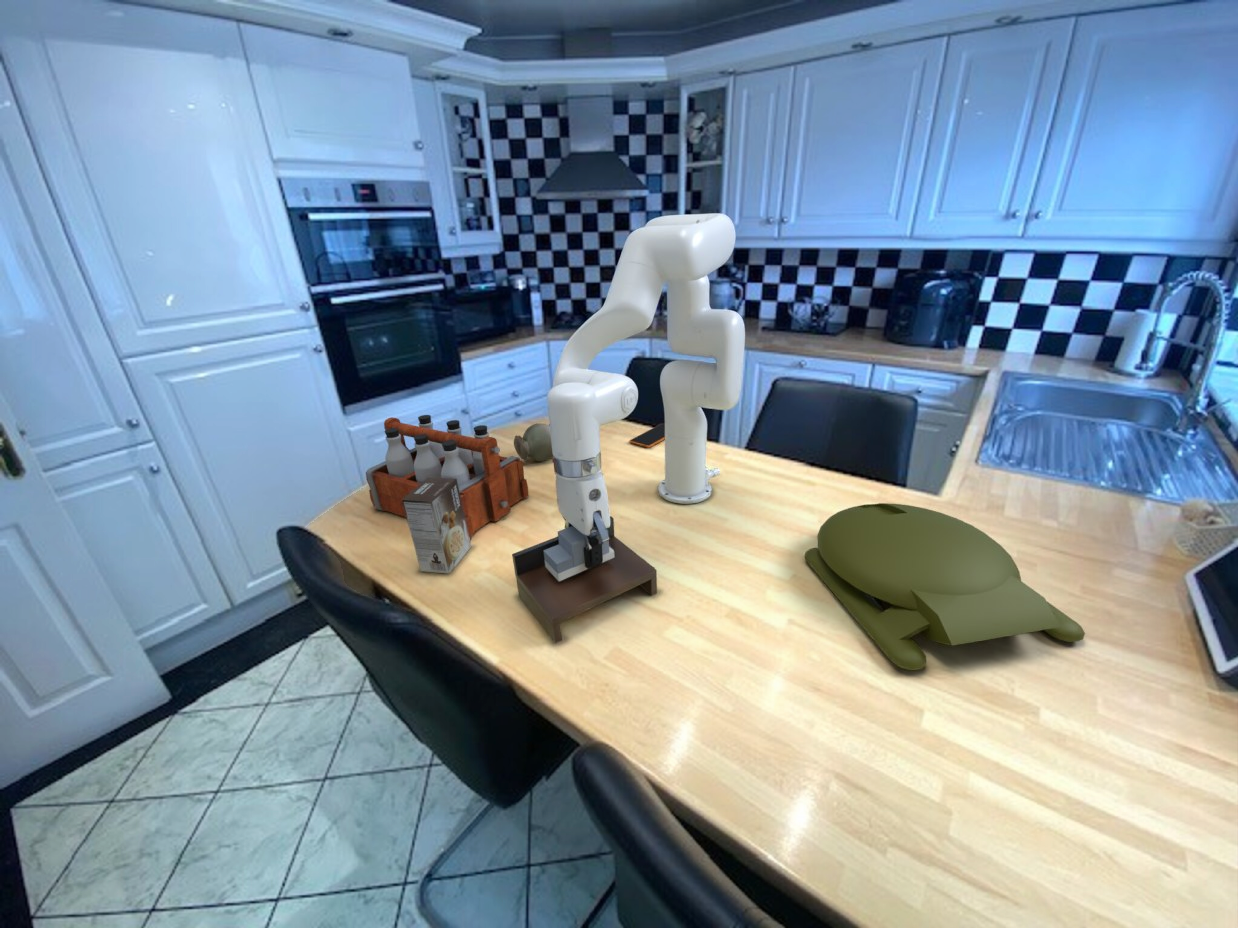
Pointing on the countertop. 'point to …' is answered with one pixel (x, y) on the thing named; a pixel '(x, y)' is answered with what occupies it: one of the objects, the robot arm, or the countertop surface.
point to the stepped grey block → (571, 553)
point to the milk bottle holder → (447, 470)
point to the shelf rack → (577, 582)
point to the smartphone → (650, 437)
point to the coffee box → (437, 524)
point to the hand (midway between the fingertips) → (585, 555)
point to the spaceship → (927, 581)
